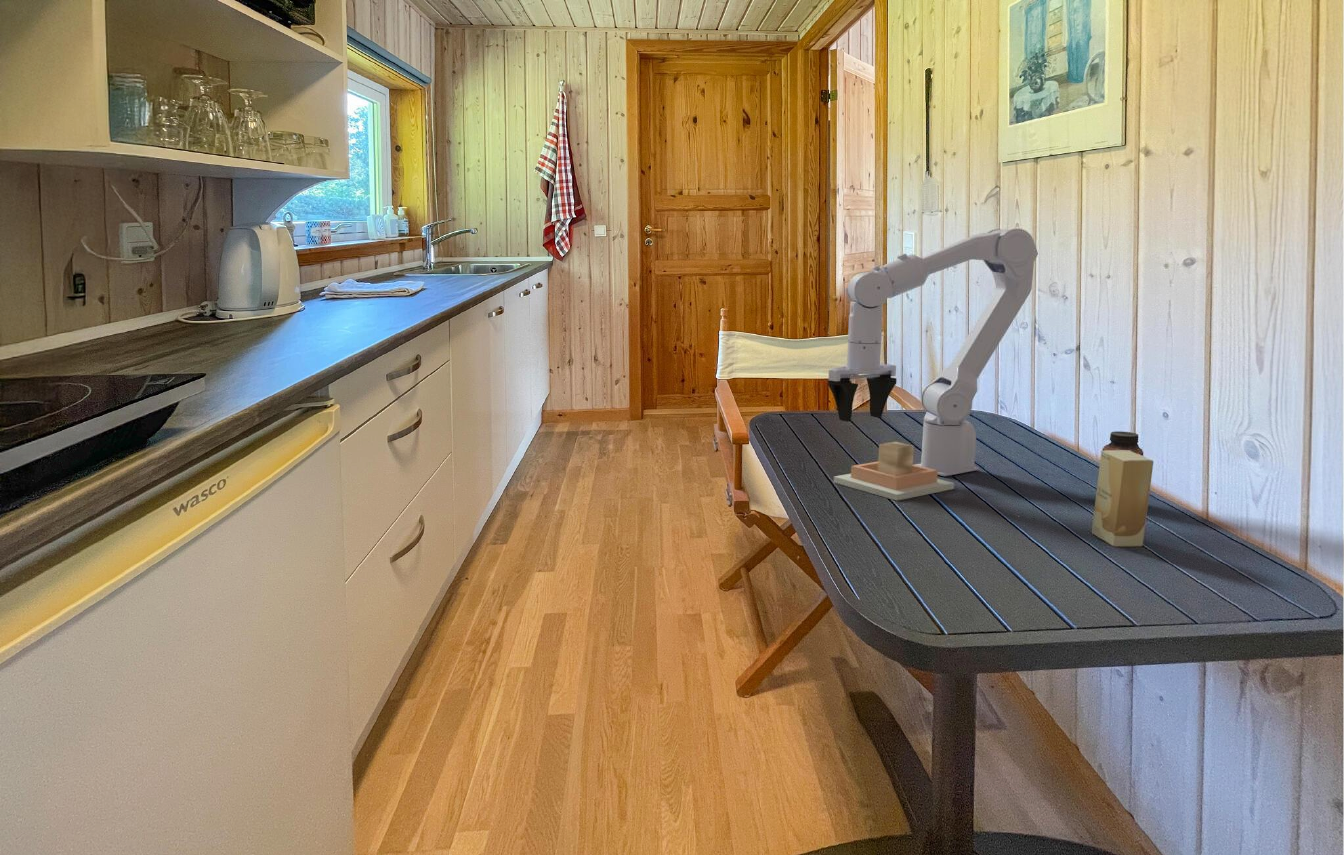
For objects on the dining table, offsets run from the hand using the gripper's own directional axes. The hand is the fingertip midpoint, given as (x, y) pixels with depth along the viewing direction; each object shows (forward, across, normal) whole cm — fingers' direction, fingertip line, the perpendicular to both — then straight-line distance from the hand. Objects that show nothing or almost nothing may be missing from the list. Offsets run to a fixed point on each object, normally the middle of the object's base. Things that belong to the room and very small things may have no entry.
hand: (860, 418), depth 171 cm
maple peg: (+8, -3, -11) cm, 14 cm away
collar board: (+9, -3, -11) cm, 15 cm away
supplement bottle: (+10, +20, -38) cm, 44 cm away
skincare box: (+10, +1, -49) cm, 50 cm away
